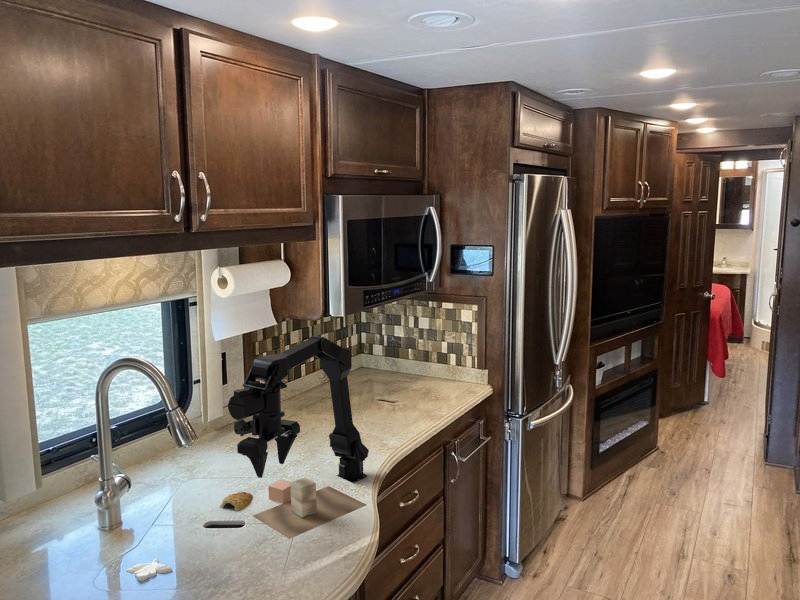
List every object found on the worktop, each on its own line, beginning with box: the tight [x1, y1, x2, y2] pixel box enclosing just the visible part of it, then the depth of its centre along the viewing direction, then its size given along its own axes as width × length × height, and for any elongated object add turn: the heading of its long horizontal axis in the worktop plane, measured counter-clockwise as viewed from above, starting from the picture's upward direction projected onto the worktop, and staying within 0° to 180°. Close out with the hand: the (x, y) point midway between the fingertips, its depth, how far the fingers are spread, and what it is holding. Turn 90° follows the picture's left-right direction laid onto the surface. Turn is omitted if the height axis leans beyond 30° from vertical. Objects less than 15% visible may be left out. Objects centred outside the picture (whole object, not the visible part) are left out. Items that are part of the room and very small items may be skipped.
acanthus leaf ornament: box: [126, 558, 173, 582], centre depth 138 cm, size 8×7×2 cm
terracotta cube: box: [267, 478, 292, 504], centre depth 170 cm, size 5×5×5 cm
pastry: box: [219, 491, 253, 512], centre depth 168 cm, size 9×7×4 cm
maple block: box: [290, 476, 317, 519], centre depth 161 cm, size 4×4×8 cm
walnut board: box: [252, 485, 367, 539], centre depth 163 cm, size 24×16×1 cm, turn 134°
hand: (270, 470), depth 158 cm, fingers open, 9 cm apart
